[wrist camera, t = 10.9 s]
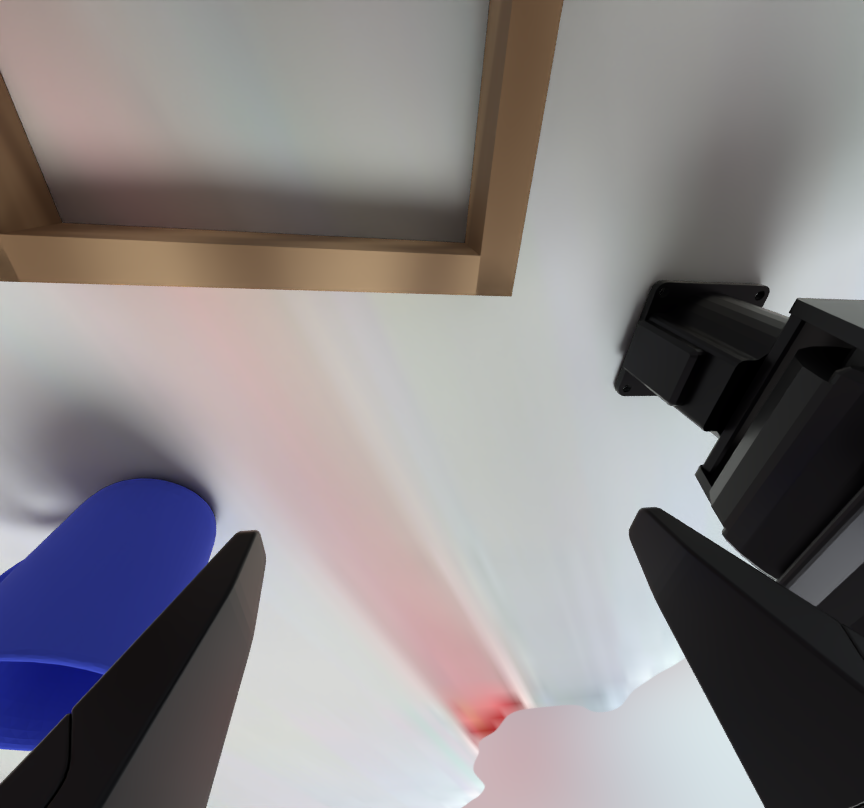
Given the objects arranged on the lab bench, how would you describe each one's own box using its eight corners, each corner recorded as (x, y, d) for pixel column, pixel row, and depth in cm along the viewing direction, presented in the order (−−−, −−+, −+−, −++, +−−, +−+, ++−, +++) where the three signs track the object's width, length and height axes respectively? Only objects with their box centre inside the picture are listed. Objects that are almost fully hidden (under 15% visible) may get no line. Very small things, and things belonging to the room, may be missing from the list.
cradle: (566, -238, 10) (628, -367, 8) (492, 278, 18) (511, 296, 15) (-295, -448, 8) (-620, -746, 5) (37, 261, 15) (-31, 280, 13)
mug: (-25, 494, 20) (-302, 719, 12) (191, 445, 21) (64, 636, 12) (79, 578, 25) (-71, 786, 17) (256, 538, 25) (196, 724, 17)
